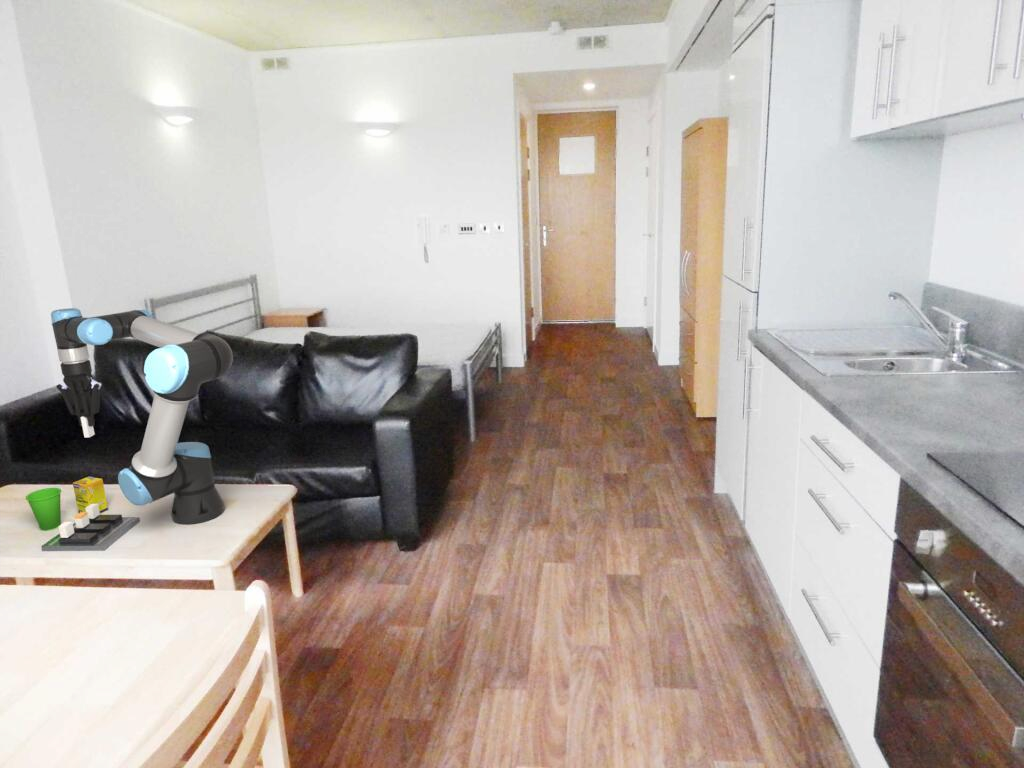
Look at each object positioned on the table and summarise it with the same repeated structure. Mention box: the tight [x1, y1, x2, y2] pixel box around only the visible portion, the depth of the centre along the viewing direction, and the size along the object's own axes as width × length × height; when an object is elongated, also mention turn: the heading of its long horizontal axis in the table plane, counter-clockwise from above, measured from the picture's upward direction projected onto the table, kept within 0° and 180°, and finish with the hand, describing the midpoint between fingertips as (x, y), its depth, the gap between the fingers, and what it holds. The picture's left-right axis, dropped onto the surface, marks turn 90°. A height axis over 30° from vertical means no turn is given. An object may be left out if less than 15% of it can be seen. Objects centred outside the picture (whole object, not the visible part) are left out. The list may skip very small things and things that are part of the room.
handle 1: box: [58, 521, 74, 538], centre depth 193 cm, size 2×3×4 cm, turn 179°
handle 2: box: [85, 504, 101, 519], centre depth 204 cm, size 2×3×4 cm, turn 179°
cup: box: [25, 487, 62, 532], centre depth 205 cm, size 9×9×11 cm
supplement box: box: [72, 476, 109, 514], centre depth 214 cm, size 6×6×11 cm
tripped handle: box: [74, 512, 89, 528], centre depth 199 cm, size 2×3×4 cm, turn 179°
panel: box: [40, 514, 140, 552], centre depth 199 cm, size 18×18×3 cm
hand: (89, 435), depth 207 cm, fingers closed
